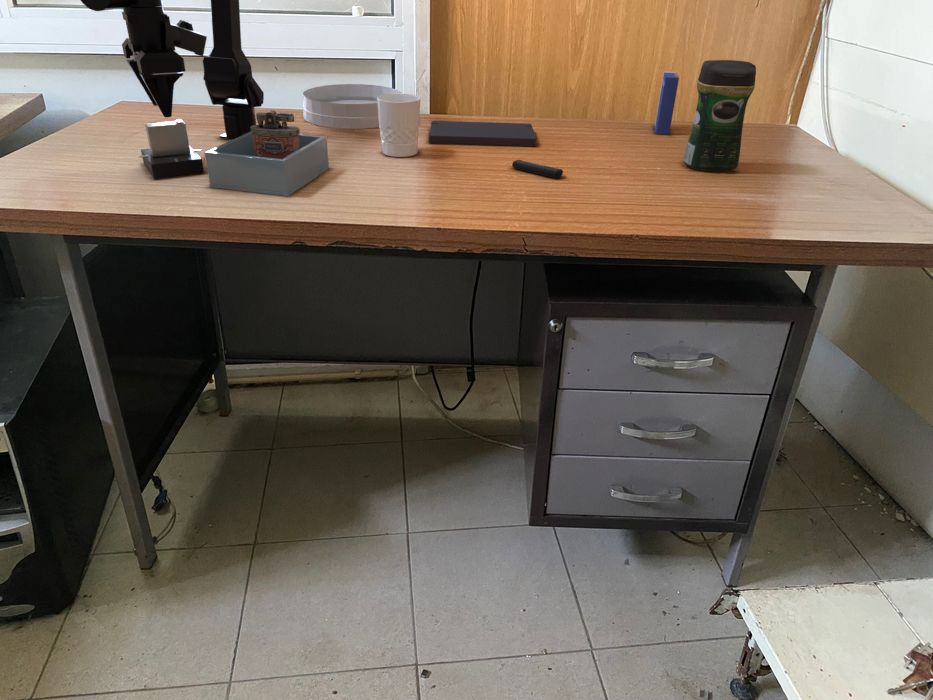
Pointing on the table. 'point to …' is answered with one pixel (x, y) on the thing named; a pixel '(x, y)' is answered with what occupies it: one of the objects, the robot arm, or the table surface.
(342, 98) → the dish
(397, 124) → the white cup
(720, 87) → the coffee jar
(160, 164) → the panel
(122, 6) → the robot arm
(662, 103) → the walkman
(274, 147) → the lighter
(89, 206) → the table surface
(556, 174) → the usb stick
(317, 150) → the basin
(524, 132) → the notebook
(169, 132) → the red-capped metal block
